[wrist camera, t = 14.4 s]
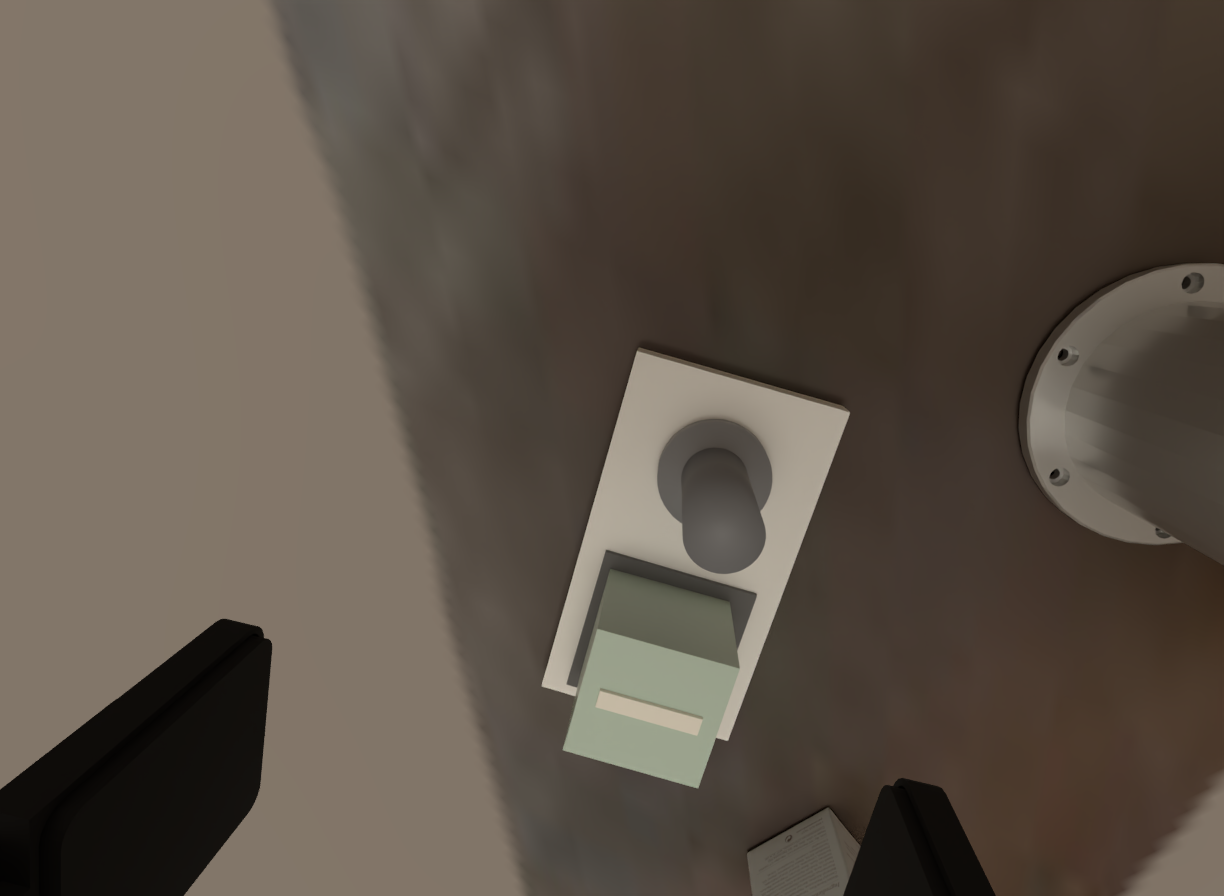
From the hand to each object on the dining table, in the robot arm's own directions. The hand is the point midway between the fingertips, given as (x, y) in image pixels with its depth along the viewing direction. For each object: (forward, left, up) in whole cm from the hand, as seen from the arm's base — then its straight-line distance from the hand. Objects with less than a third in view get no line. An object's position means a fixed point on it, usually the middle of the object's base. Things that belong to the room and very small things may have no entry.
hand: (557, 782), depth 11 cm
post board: (-5, +5, -26) cm, 27 cm away
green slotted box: (-5, +9, -24) cm, 26 cm away
